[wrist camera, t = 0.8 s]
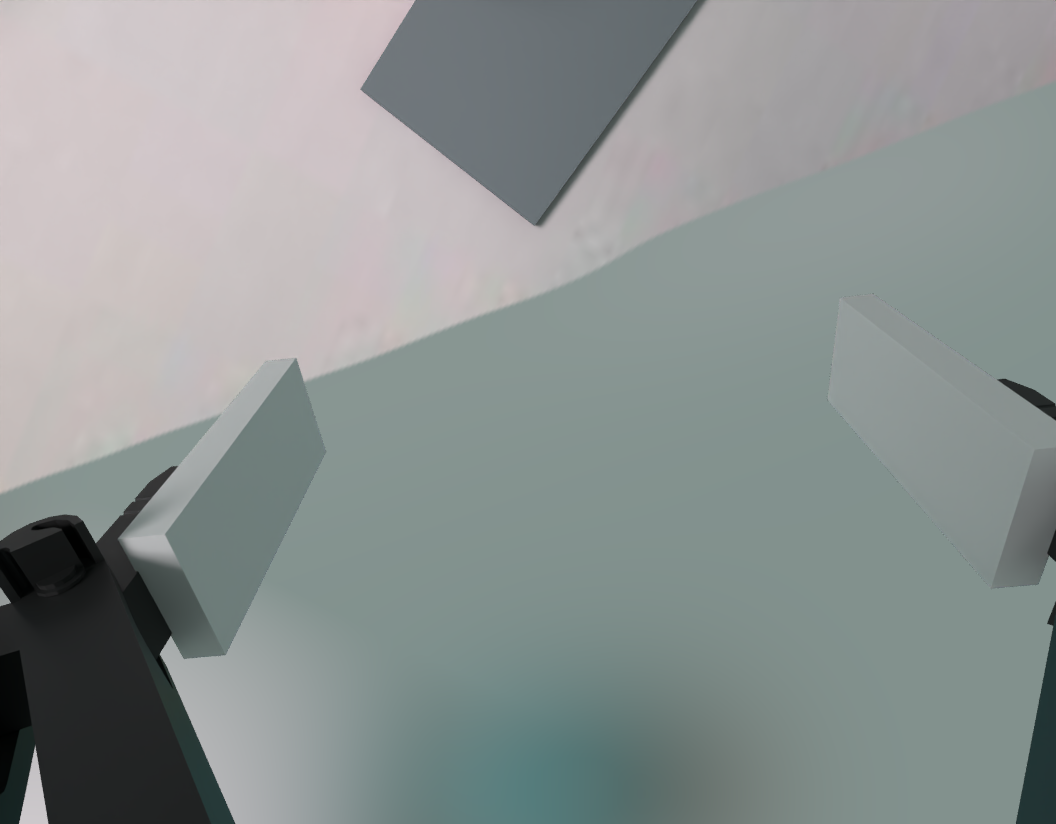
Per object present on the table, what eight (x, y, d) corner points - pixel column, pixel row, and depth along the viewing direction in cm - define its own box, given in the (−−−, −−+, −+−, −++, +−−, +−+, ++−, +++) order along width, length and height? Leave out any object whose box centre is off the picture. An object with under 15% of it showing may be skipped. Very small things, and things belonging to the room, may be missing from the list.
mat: (362, 91, 30) (360, 89, 29) (544, -202, 27) (545, -211, 26) (533, 225, 32) (534, 225, 32) (718, -31, 29) (722, -36, 29)
